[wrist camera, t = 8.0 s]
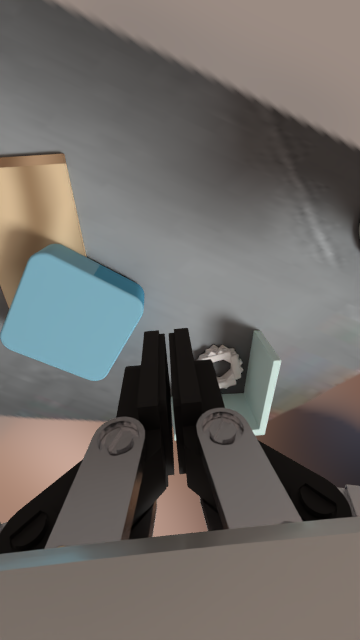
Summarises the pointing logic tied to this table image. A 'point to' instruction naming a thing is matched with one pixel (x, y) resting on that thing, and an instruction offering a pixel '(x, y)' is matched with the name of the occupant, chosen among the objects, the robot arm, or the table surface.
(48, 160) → the wooden board
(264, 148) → the table surface
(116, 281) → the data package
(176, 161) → the table surface
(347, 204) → the table surface
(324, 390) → the table surface
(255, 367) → the mint corner bracket
